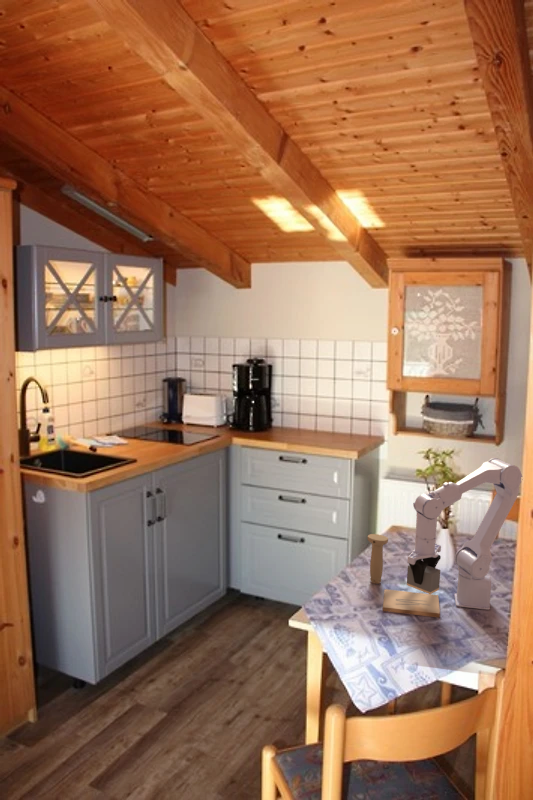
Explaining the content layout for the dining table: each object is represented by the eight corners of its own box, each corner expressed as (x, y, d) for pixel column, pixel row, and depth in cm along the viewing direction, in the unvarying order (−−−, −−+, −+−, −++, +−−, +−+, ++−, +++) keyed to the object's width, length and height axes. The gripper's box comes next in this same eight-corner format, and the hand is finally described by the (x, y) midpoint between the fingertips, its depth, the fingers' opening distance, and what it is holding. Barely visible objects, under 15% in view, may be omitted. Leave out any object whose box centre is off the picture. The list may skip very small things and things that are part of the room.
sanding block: (439, 589, 192) (440, 570, 191) (430, 594, 189) (431, 574, 188) (415, 580, 198) (416, 561, 197) (406, 585, 195) (407, 565, 194)
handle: (381, 587, 207) (383, 542, 205) (363, 582, 211) (365, 537, 209) (388, 582, 211) (390, 537, 209) (370, 577, 215) (372, 532, 212)
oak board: (438, 598, 200) (438, 595, 200) (439, 617, 189) (439, 613, 189) (384, 592, 204) (384, 589, 203) (382, 611, 192) (382, 607, 192)
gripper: (423, 546, 183) (421, 592, 185) (451, 533, 193) (448, 577, 195) (402, 539, 188) (399, 584, 190) (430, 527, 198) (427, 570, 200)
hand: (422, 580), depth 193 cm, fingers closed on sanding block, 5 cm apart
